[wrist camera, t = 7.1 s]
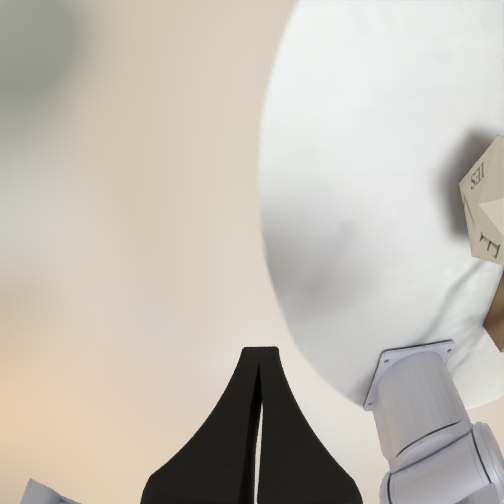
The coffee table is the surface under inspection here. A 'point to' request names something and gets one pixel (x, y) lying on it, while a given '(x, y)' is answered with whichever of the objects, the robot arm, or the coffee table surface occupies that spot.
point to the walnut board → (496, 318)
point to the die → (486, 203)
